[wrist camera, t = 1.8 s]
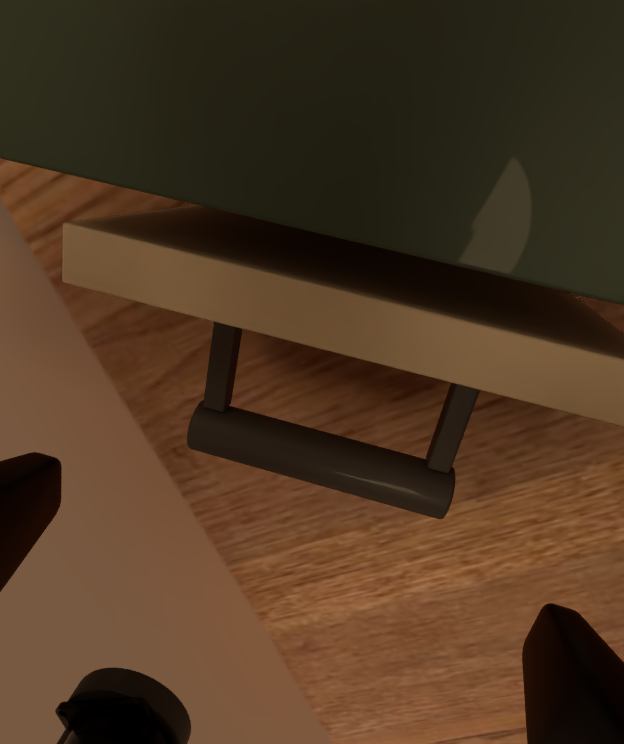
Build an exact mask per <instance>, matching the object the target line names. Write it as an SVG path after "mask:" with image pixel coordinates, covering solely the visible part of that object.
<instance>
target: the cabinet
mask: <svg viewBox="0 0 624 744" xmlns="http://www.w3.org/2000/svg"><path fill="white" fill-rule="evenodd" d="M0 158H2V159H6V160H10V161H14V162H19V163H23V164H27V165H31V166H36V167H40V168H44V169H48V170H52V171H57V172H61V173H65V174H69V175H74V176H78V177H82V178H86V179H91V180H95V181H99V182H103V183H108V184H112V185H116V186H120V187H125V188H129V189H133V190H137V191H142V192H146V193H150V194H154V195H159V196H163V197H167V198H171V199H175V200H180V201H184V202H188V203H192V204H197V205H201V206H205V207H209V208H214V209H218V210H222V211H226V212H231V213H235V214H239V215H243V216H248V217H252V218H256V219H260V220H265V221H269V222H273V223H277V224H282V225H286V226H290V227H294V228H298V229H303V230H307V231H311V232H315V233H320V234H324V235H328V236H332V237H337V238H341V239H345V240H349V241H354V242H358V243H362V244H366V245H371V246H375V247H379V248H383V249H388V250H392V251H396V252H400V253H405V254H409V255H413V256H417V257H422V258H426V259H430V260H434V261H438V262H443V263H447V264H451V265H455V266H460V267H464V268H468V269H472V270H477V271H481V272H485V273H489V274H494V275H498V276H502V277H506V278H511V279H515V280H519V281H523V282H528V283H532V284H536V285H540V286H545V287H549V288H553V289H557V290H561V291H566V292H570V293H574V294H578V295H583V296H587V297H591V298H595V299H600V300H604V301H608V302H612V303H617V304H621V305H624V0H0Z"/></svg>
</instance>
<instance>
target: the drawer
mask: <svg viewBox="0 0 624 744" xmlns="http://www.w3.org/2000/svg"><path fill="white" fill-rule="evenodd" d="M62 281H63V282H64V283H66V284H70V285H74V286H78V287H82V288H86V289H90V290H94V291H98V292H101V293H105V294H109V295H113V296H117V297H121V298H125V299H129V300H133V301H136V302H140V303H144V304H148V305H152V306H156V307H160V308H164V309H168V310H171V311H175V312H179V313H183V314H187V315H191V316H195V317H199V318H203V319H206V320H210V321H214V328H213V335H212V343H211V350H210V358H209V365H208V373H207V380H206V388H205V396H204V400H202V401H201V402H200V403H199V404H198V406H197V408H196V409H195V411H194V413H193V416H192V418H191V421H190V424H189V428H188V435H187V444H188V447H189V448H191V449H193V450H196V451H200V452H204V453H207V454H211V455H214V456H218V457H221V458H225V459H228V460H232V461H235V462H239V463H242V464H246V465H250V466H253V467H257V468H260V469H264V470H267V471H271V472H274V473H278V474H281V475H285V476H288V477H292V478H296V479H299V480H303V481H306V482H310V483H313V484H317V485H320V486H324V487H327V488H331V489H334V490H338V491H342V492H345V493H349V494H352V495H356V496H359V497H363V498H366V499H370V500H373V501H377V502H380V503H384V504H388V505H391V506H395V507H398V508H402V509H405V510H409V511H412V512H416V513H419V514H423V515H426V516H430V517H434V518H437V519H443V518H444V517H445V515H446V514H447V512H448V510H449V507H450V505H451V501H452V498H453V493H454V488H455V470H454V468H453V467H452V465H453V462H454V459H455V457H456V454H457V451H458V449H459V446H460V443H461V440H462V438H463V435H464V432H465V430H466V427H467V424H468V422H469V419H470V416H471V413H472V411H473V408H474V405H475V403H476V400H477V397H478V394H479V392H480V390H483V391H486V392H490V393H494V394H498V395H502V396H506V397H510V398H514V399H518V400H521V401H525V402H529V403H533V404H537V405H541V406H545V407H549V408H553V409H556V410H560V411H564V412H568V413H572V414H576V415H580V416H584V417H588V418H591V419H595V420H599V421H603V422H607V423H611V424H615V425H619V426H623V427H624V333H622V332H621V331H620V330H618V329H617V328H616V327H614V326H613V325H612V324H610V323H609V322H608V321H606V320H605V319H603V318H602V317H601V316H599V315H598V314H597V313H595V312H594V311H593V310H591V309H590V308H589V307H587V306H586V305H585V304H583V303H582V302H581V301H579V300H578V299H577V298H575V297H574V296H573V295H571V294H570V293H569V292H566V291H561V290H557V289H553V288H549V287H545V286H540V285H536V284H532V283H528V282H523V281H519V280H515V279H511V278H506V277H502V276H498V275H494V274H489V273H485V272H481V271H477V270H472V269H468V268H464V267H460V266H455V265H451V264H447V263H443V262H438V261H434V260H430V259H426V258H422V257H417V256H413V255H409V254H405V253H400V252H396V251H392V250H388V249H383V248H379V247H375V246H371V245H366V244H362V243H358V242H354V241H349V240H345V239H341V238H337V237H332V236H328V235H324V234H320V233H315V232H311V231H307V230H303V229H298V228H294V227H290V226H286V225H282V224H277V223H273V222H269V221H265V220H260V219H256V218H252V217H248V216H243V215H239V214H235V213H231V212H226V211H222V210H218V209H214V208H209V207H205V206H201V205H191V206H183V207H176V208H169V209H161V210H154V211H147V212H139V213H132V214H124V215H117V216H110V217H102V218H95V219H88V220H80V221H73V222H66V223H64V224H63V266H62ZM242 329H245V330H249V331H253V332H257V333H261V334H265V335H269V336H273V337H276V338H280V339H284V340H288V341H292V342H296V343H300V344H304V345H308V346H311V347H315V348H319V349H323V350H327V351H331V352H335V353H339V354H343V355H346V356H350V357H354V358H358V359H362V360H366V361H370V362H374V363H378V364H381V365H385V366H389V367H393V368H397V369H401V370H405V371H409V372H413V373H416V374H420V375H424V376H428V377H432V378H436V379H440V380H444V381H448V382H451V385H450V388H449V391H448V394H447V397H446V400H445V403H444V406H443V409H442V411H441V414H440V417H439V420H438V423H437V426H436V429H435V432H434V435H433V438H432V441H431V444H430V446H429V449H428V452H427V455H426V459H422V458H419V457H415V456H411V455H408V454H404V453H400V452H397V451H393V450H389V449H386V448H382V447H378V446H375V445H371V444H367V443H364V442H360V441H356V440H353V439H349V438H345V437H342V436H338V435H334V434H331V433H327V432H323V431H320V430H316V429H312V428H309V427H305V426H301V425H298V424H294V423H290V422H287V421H283V420H279V419H276V418H272V417H268V416H265V415H261V414H257V413H254V412H250V411H246V410H242V409H239V408H235V407H231V406H229V405H230V404H231V399H232V392H233V386H234V379H235V373H236V367H237V360H238V354H239V347H240V341H241V335H242Z"/></svg>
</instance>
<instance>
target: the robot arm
mask: <svg viewBox="0 0 624 744" xmlns="http://www.w3.org/2000/svg"><path fill="white" fill-rule="evenodd" d="M60 503H61V463H60V461H59V460H58V459H57V458H55V457H51V456H48V455H45V454H41V453H36V452H33V453H28V454H25V455H21V456H18V457H14V458H10V459H7V460H3V461H0V591H1V590H2V589H3V587H4V586H5V585H6V584H7V582H8V581H9V579H10V578H11V576H12V575H13V574H14V572H15V571H16V570H17V568H18V567H19V565H20V564H21V562H22V561H23V560H24V558H25V557H26V556H27V554H28V553H29V551H30V550H31V549H32V547H33V546H34V544H35V543H36V542H37V540H38V539H39V537H40V536H41V535H42V533H43V532H44V530H45V529H46V528H47V526H48V525H49V523H50V522H51V521H52V519H53V518H54V516H55V515H56V513H57V511H58V509H59V507H60ZM522 662H523V678H524V695H525V711H526V727H527V743H528V744H624V662H623V661H622V660H621V659H620V658H619V657H618V656H617V655H616V654H615V652H614V651H613V650H612V649H611V648H610V647H609V646H608V645H607V644H606V642H605V641H604V640H603V639H602V638H601V637H600V636H599V635H598V634H597V633H596V631H595V630H594V629H593V628H592V627H591V626H590V625H589V624H588V623H587V621H586V620H585V619H584V618H583V617H582V616H581V615H580V614H579V613H578V612H576V611H575V610H572V609H569V608H566V607H562V606H559V605H556V604H552V603H550V604H546V605H545V606H543V608H542V609H541V611H540V613H539V615H538V616H537V618H536V620H535V622H534V624H533V626H532V628H531V630H530V632H529V634H528V636H527V637H526V640H525V642H524V646H523V652H522ZM56 714H57V716H58V717H59V719H60V720H61V722H62V723H63V725H64V726H65V728H66V730H65V731H64V733H63V735H62V736H61V738H60V739H59V741H58V742H57V744H170V742H169V740H168V738H167V737H166V735H165V733H164V731H163V729H162V728H161V726H160V724H159V722H158V721H157V719H156V717H155V715H154V713H153V712H152V710H151V708H150V706H149V705H148V703H147V701H146V700H145V699H143V698H141V697H125V698H110V699H95V700H80V701H66V702H61V703H60V704H59V706H58V707H57V709H56Z"/></svg>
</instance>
